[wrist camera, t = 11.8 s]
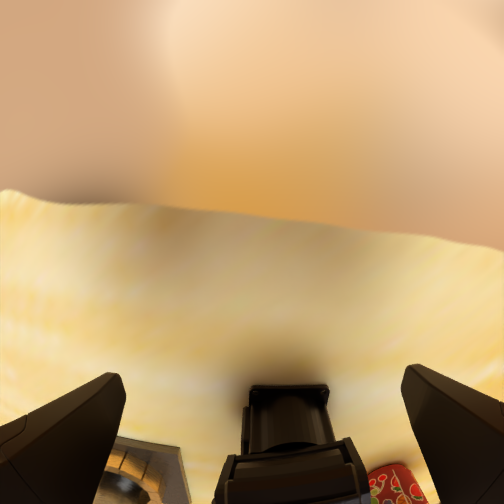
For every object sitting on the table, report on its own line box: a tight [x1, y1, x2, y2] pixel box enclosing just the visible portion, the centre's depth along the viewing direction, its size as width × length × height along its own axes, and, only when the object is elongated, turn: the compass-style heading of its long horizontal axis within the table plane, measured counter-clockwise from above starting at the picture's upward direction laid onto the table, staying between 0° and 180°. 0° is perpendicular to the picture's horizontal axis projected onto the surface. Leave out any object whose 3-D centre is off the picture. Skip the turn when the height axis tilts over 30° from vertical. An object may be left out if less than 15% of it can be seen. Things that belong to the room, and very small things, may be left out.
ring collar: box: [100, 436, 192, 504], centre depth 25 cm, size 14×12×4 cm
